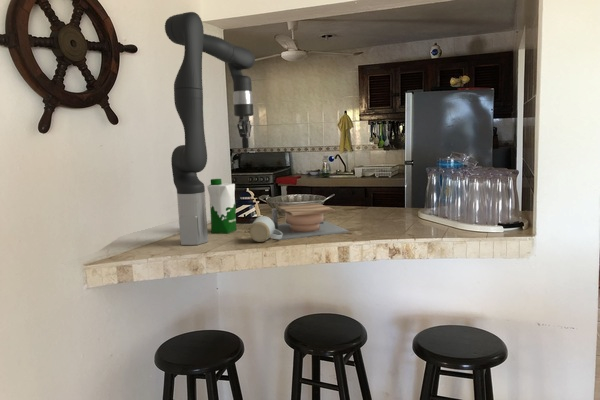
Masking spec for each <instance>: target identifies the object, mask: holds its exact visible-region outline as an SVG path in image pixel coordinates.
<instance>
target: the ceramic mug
mask: <svg viewBox="0 0 600 400" xmlns="http://www.w3.org/2000/svg"><path fill="white" fill-rule="evenodd" d="M273 233H274V234H273ZM275 234H277V235H275ZM249 235H250V238H251V239H252V240H253V241H255V242H257V243H263V242H266V241H267V240H268V239H269V238H271V239H274V240H279V239H281V238H282V235H283V234H282V232H280V231H278V230H276V229H275V225H274V222H273V221H272V218H270V217H269V216H265V215H262V216H258V217H256V218H255V219H254V221H253V222H252V223H251V225H250V227H249Z"/></svg>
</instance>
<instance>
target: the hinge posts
mask: <svg viewBox="0 0 600 400" xmlns="http://www.w3.org/2000/svg"><path fill="white" fill-rule="evenodd" d="M271 220H272V221H273V222H274V225H275V229H277V228H278V224H279V223H278V208H271ZM319 224H323V222H321V223H319Z"/></svg>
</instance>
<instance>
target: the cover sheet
mask: <svg viewBox="0 0 600 400" xmlns="http://www.w3.org/2000/svg"><path fill="white" fill-rule="evenodd" d="M277 210H279V211H281V212H283V213H285V212H286V213H288V214H290V215H292V216H294V215H305V214H316V213H323V214H325V213H335V212H336V209H335V208H332V207H329V206H326V205H323V204H320V203H319V202H317V203H316V202H313V203H312V202H311V203H300V204H289V205H278V206H277Z"/></svg>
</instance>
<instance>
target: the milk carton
mask: <svg viewBox="0 0 600 400" xmlns="http://www.w3.org/2000/svg"><path fill="white" fill-rule="evenodd" d="M206 187H207V193H208V195H209V209H210V232H211V234H230V233H233V232H235V231H237V215H236V198H235V191H236V184H235V183H222V178H212V179H210V184H209V185H207V186H206Z"/></svg>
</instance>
